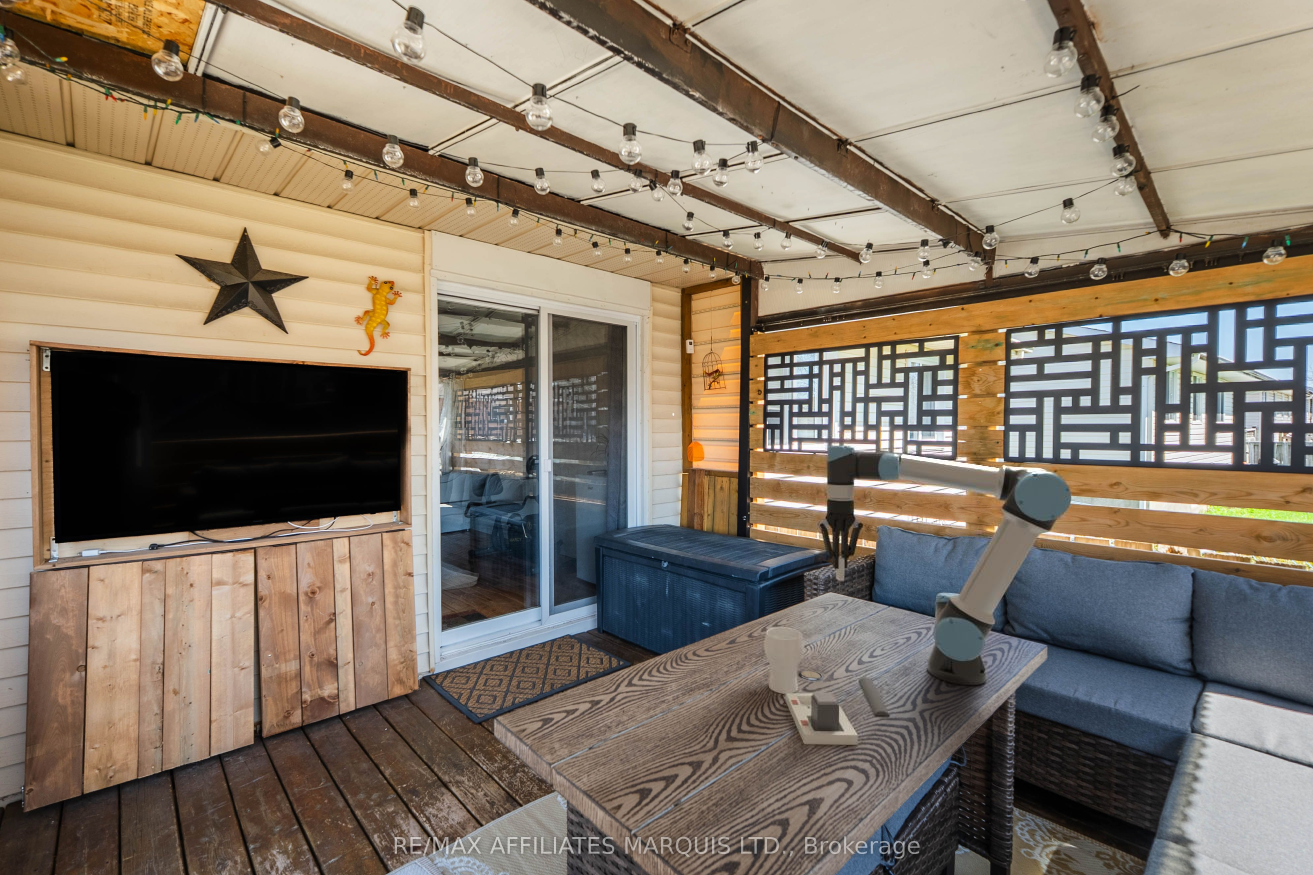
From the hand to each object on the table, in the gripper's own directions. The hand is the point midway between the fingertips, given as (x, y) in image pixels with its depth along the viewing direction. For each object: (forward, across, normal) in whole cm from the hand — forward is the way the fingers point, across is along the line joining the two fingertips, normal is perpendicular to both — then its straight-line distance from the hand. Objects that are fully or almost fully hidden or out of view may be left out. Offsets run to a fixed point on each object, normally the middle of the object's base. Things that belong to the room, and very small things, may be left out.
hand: (840, 579), depth 171 cm
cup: (+27, +19, +10) cm, 35 cm away
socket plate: (+27, +15, +28) cm, 42 cm away
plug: (+26, +16, +34) cm, 45 cm away
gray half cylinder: (+28, -3, +17) cm, 32 cm away
